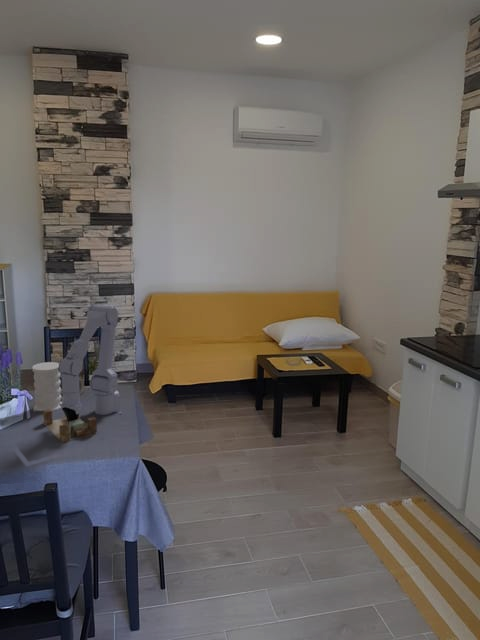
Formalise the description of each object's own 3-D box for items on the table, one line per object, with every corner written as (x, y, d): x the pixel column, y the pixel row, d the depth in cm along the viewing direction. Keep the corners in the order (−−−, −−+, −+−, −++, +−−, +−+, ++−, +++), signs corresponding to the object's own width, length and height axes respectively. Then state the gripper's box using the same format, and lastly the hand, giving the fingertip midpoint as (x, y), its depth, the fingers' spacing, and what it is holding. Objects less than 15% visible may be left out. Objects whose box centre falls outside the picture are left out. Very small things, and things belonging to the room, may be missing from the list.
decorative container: (35, 404, 206) (32, 362, 203) (64, 402, 209) (62, 361, 206) (31, 414, 195) (29, 371, 192) (62, 412, 198) (61, 369, 195)
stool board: (76, 418, 194) (76, 403, 192) (98, 436, 179) (97, 420, 177) (42, 425, 186) (42, 410, 184) (62, 445, 170) (61, 428, 169)
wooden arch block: (77, 437, 174) (76, 423, 173) (74, 434, 176) (74, 421, 175) (96, 432, 178) (96, 418, 177) (94, 429, 180) (93, 416, 179)
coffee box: (71, 390, 223) (69, 356, 220) (84, 391, 223) (83, 357, 219) (61, 397, 215) (59, 361, 211) (75, 398, 214) (74, 362, 210)
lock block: (80, 429, 181) (79, 419, 180) (84, 433, 178) (83, 422, 177) (69, 432, 178) (68, 421, 178) (73, 436, 175) (72, 425, 175)
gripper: (52, 387, 181) (54, 422, 184) (67, 399, 170) (69, 435, 173) (71, 383, 186) (73, 417, 188) (87, 395, 175) (88, 430, 177)
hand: (72, 426), depth 181 cm, fingers closed
